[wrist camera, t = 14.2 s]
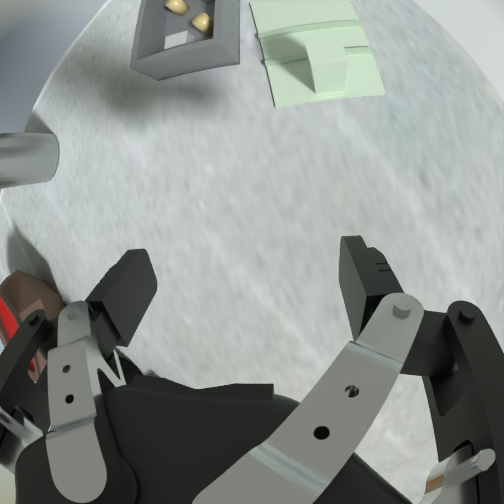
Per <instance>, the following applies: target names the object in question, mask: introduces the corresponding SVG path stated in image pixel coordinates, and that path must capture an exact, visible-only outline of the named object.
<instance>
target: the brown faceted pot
mask: <svg viewBox="0 0 504 504" xmlns="http://www.w3.org/2000/svg"><path fill="white" fill-rule="evenodd" d="M64 308H65V305H64V303H63V301H62V298H61V296H60V295H59V294H58V293H57V292H56V291H55V290H54V289H53V288H52V287H51V286H50V285H49V283H48V282H46V281H44V280H41V279H39V278H36V277H33V276H31V275H28V274H26V273H23V272H21V271H19V270H17V271H16V272H14V273H13V274H11V275H10V276H8V277H7V278H6V279H5V280H4V281H3V282H2V284H1V285H0V339H1V341H2V343H3V345H4V347H6V345H7V344H8V342H9V341H10V339H11V338H12V336H13V335H14V333H15V332H16V331H17V329H18V328H19V326H20V325H21V324H22V322H23V321H24V319H25V318H26V317H27V316H28V315H29V314H30V313H32V312H33V311H35V310H38V309H43V310H45V311H46V313H47V315H48V316H49V318H50V319H52V318H57V317H59V315H60V313H61V311H62V310H63V309H64ZM46 363H47V361H46V360H45V359H44V358H43V356H42V355H41V354H40V352H39V351H38V350H37V352H36V353H35V355H34V357H33V358H32V360H31V362H30V363H29V365H28V374H29V377H30V378H31V379H32V380H33V381H35V382H37V380H38V378H39V377H40V375H41V373H42V371H43V369H44V367H45V365H46Z"/></svg>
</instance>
